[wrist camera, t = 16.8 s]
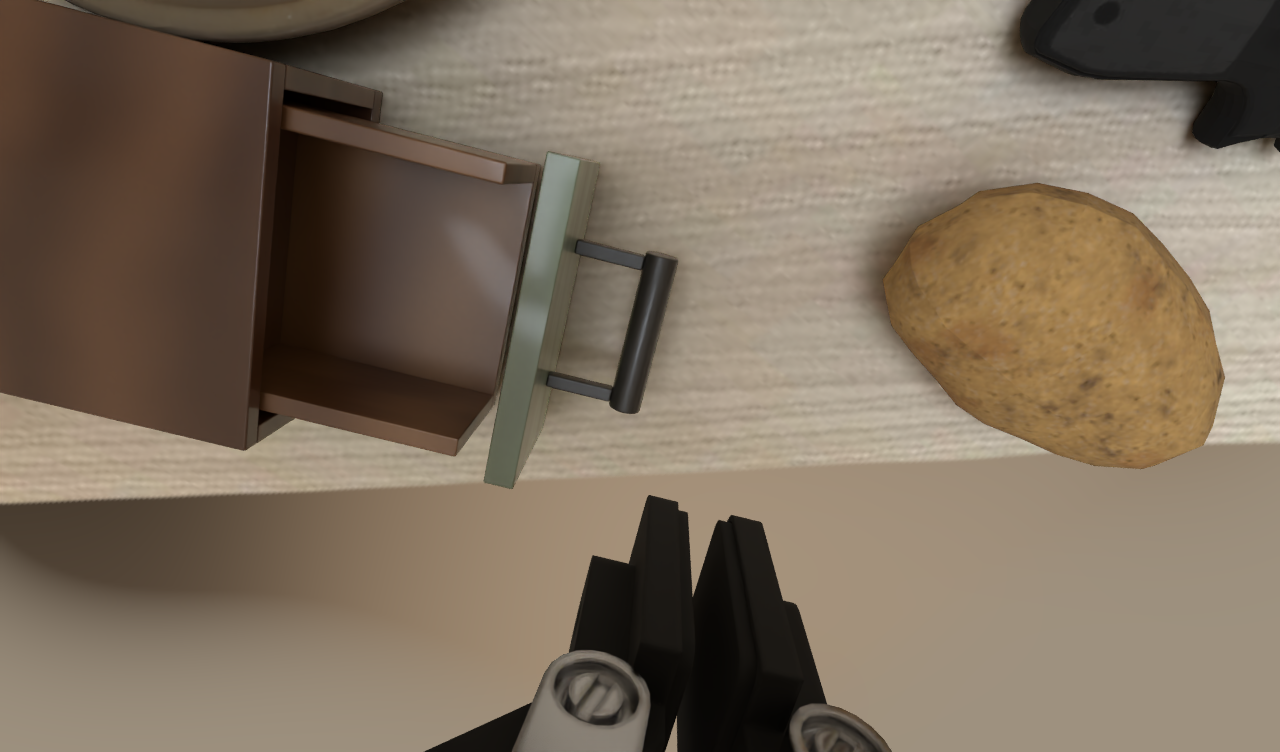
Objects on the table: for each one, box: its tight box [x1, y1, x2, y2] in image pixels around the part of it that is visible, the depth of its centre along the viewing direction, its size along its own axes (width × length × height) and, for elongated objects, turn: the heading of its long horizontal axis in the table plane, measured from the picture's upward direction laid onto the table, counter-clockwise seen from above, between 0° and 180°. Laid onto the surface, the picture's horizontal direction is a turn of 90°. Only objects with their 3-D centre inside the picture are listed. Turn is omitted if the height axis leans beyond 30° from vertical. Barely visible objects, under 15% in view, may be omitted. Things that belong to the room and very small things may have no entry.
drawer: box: [259, 100, 678, 489], centre depth 28 cm, size 18×13×7 cm
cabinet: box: [0, 0, 382, 451], centre depth 27 cm, size 15×14×9 cm
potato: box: [883, 183, 1225, 469], centre depth 27 cm, size 10×14×8 cm
